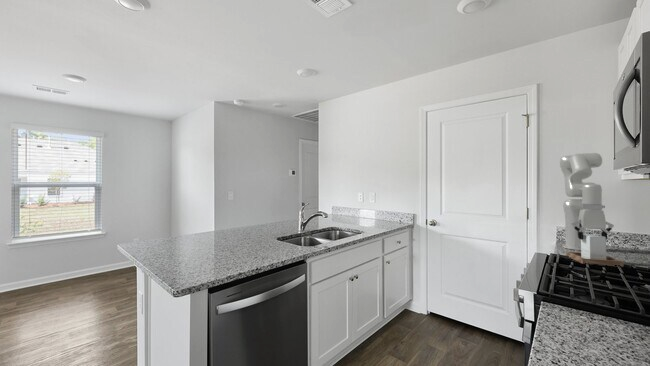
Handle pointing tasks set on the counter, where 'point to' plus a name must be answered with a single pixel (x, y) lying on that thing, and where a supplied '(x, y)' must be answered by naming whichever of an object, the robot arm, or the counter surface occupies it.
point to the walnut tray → (595, 260)
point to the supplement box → (593, 247)
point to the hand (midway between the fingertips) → (592, 239)
